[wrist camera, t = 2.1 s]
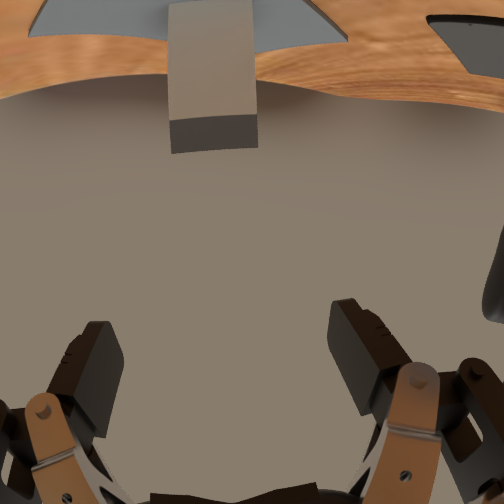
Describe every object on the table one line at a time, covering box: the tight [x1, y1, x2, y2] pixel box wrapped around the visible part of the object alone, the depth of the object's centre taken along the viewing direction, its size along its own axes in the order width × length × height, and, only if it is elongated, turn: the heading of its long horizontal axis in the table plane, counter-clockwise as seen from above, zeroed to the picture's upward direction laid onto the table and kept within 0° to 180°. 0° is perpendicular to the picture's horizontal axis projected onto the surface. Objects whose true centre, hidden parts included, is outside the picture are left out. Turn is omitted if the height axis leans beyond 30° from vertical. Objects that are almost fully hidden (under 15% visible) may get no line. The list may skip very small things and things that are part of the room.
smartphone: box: [426, 15, 504, 79], centre depth 12 cm, size 7×1×15 cm
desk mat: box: [28, 0, 348, 54], centre depth 14 cm, size 22×12×1 cm, turn 35°
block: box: [168, 0, 258, 154], centre depth 16 cm, size 5×5×10 cm
